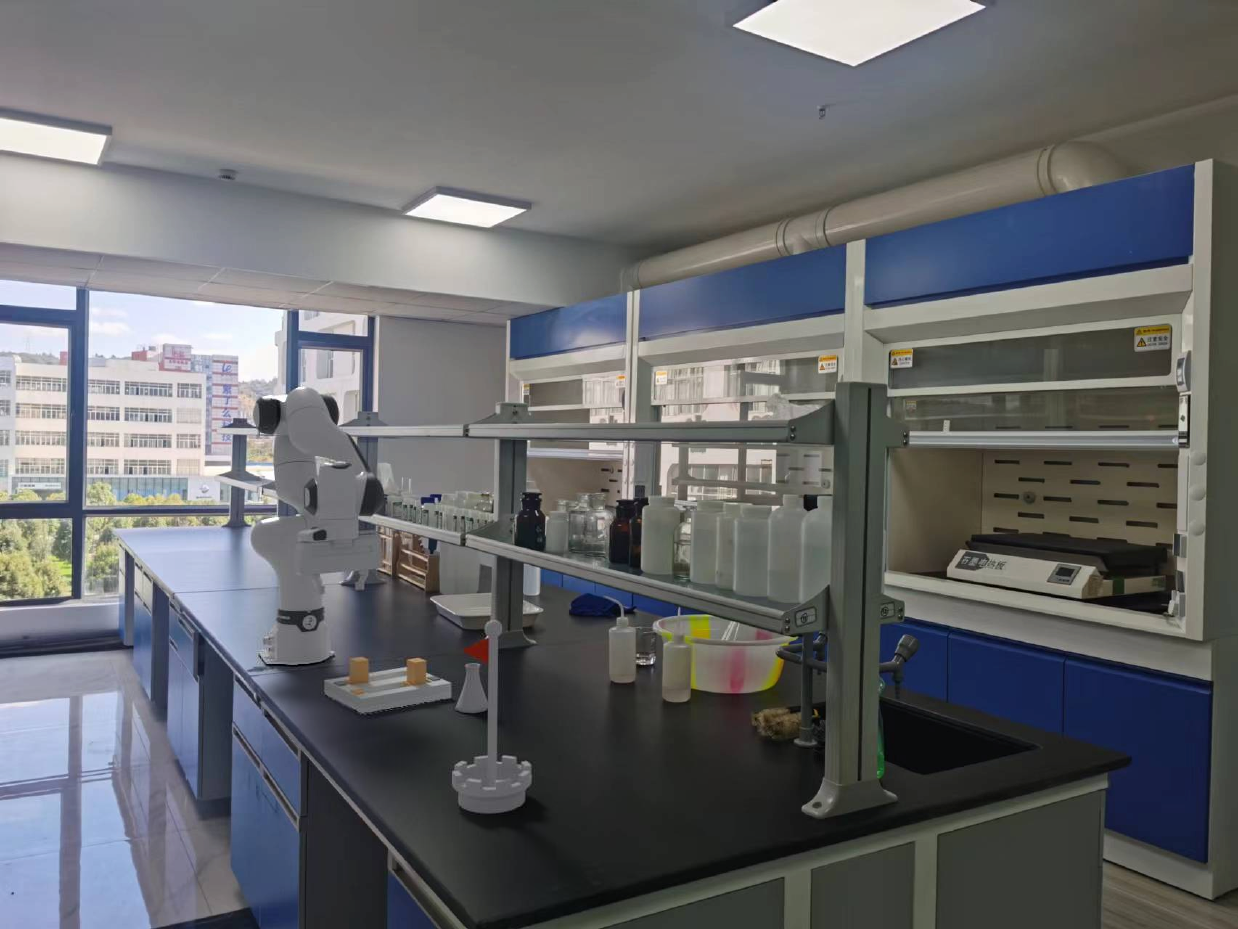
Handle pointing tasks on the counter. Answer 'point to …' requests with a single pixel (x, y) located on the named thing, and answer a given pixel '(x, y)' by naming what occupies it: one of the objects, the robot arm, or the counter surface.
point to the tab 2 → (416, 672)
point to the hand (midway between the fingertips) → (340, 591)
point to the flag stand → (491, 750)
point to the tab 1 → (358, 671)
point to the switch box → (387, 690)
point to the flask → (472, 692)
